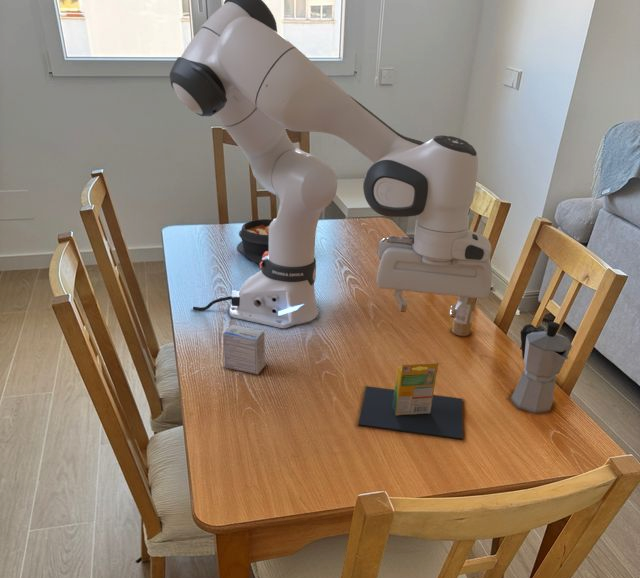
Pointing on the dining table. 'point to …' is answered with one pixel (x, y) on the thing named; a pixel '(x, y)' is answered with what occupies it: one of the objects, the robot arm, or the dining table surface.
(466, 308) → the sprinkles bottle
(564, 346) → the coffee maker
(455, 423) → the mat
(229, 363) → the medicine box
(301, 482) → the dining table surface
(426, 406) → the crayon box
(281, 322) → the robot arm
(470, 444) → the dining table surface
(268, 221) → the casserole
